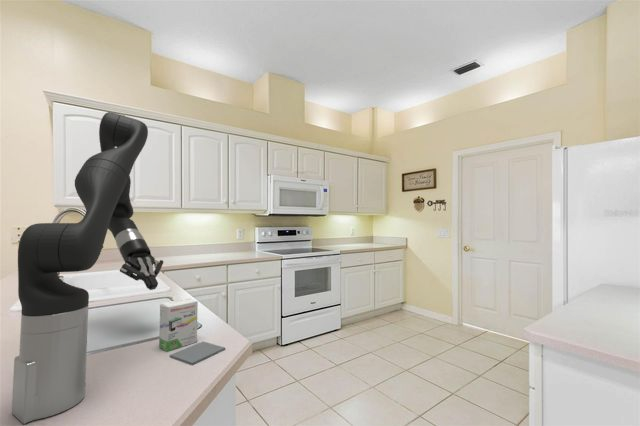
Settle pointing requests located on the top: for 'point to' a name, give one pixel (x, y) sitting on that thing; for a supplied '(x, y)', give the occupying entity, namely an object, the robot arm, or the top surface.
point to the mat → (197, 352)
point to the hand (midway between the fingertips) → (153, 287)
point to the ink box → (178, 323)
